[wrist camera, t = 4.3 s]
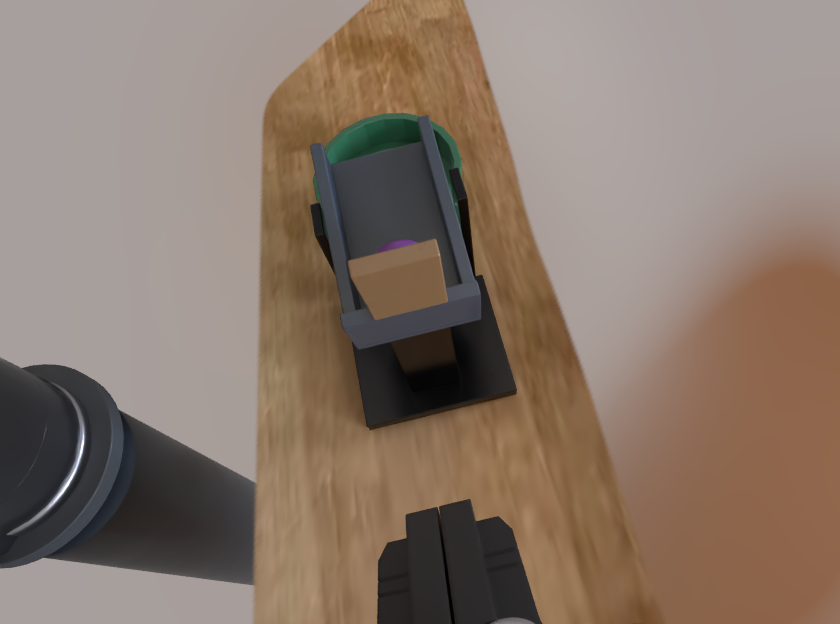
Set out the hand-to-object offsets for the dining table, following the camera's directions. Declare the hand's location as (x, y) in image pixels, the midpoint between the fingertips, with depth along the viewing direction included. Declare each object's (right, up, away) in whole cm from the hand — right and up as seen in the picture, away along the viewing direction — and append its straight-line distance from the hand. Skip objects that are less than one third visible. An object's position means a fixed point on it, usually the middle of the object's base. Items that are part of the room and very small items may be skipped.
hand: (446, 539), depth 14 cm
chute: (-2, +9, +17) cm, 19 cm away
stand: (0, +3, +25) cm, 25 cm away
